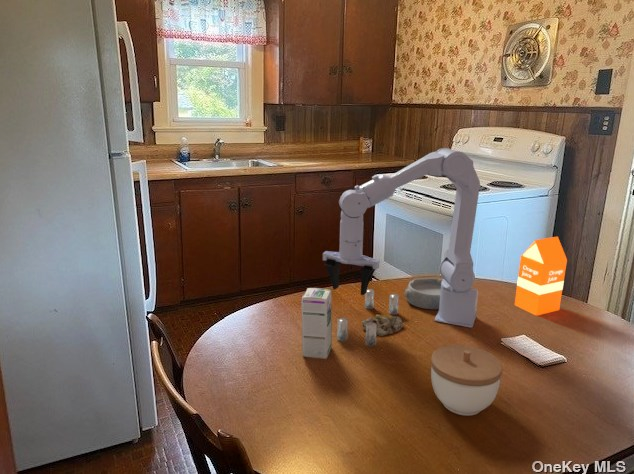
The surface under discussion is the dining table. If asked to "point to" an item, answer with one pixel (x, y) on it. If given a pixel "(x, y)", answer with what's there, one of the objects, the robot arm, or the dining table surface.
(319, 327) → the syrup box
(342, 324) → the spacer posts
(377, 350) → the dining table surface
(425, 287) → the dish
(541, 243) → the orange juice
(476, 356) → the lidded bowl
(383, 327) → the mineral rock
